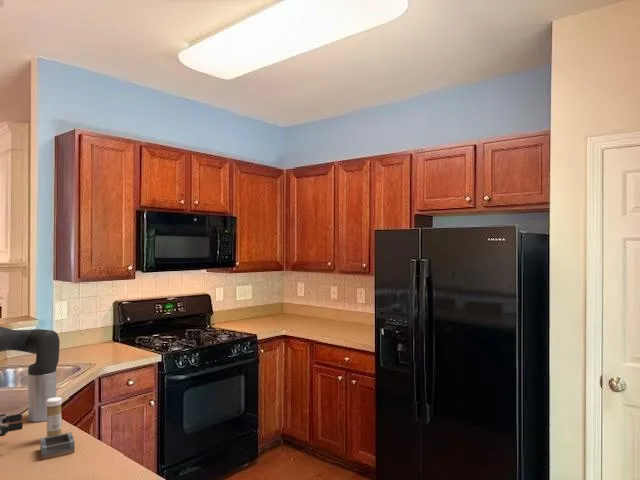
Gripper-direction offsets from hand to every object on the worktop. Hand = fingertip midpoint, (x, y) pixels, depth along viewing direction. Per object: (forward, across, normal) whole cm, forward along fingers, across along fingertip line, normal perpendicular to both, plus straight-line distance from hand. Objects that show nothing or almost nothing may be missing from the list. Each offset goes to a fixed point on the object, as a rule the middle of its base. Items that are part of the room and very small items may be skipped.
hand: (22, 421), depth 156 cm
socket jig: (+9, -12, +8) cm, 17 cm away
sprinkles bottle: (+9, 0, +8) cm, 12 cm away
